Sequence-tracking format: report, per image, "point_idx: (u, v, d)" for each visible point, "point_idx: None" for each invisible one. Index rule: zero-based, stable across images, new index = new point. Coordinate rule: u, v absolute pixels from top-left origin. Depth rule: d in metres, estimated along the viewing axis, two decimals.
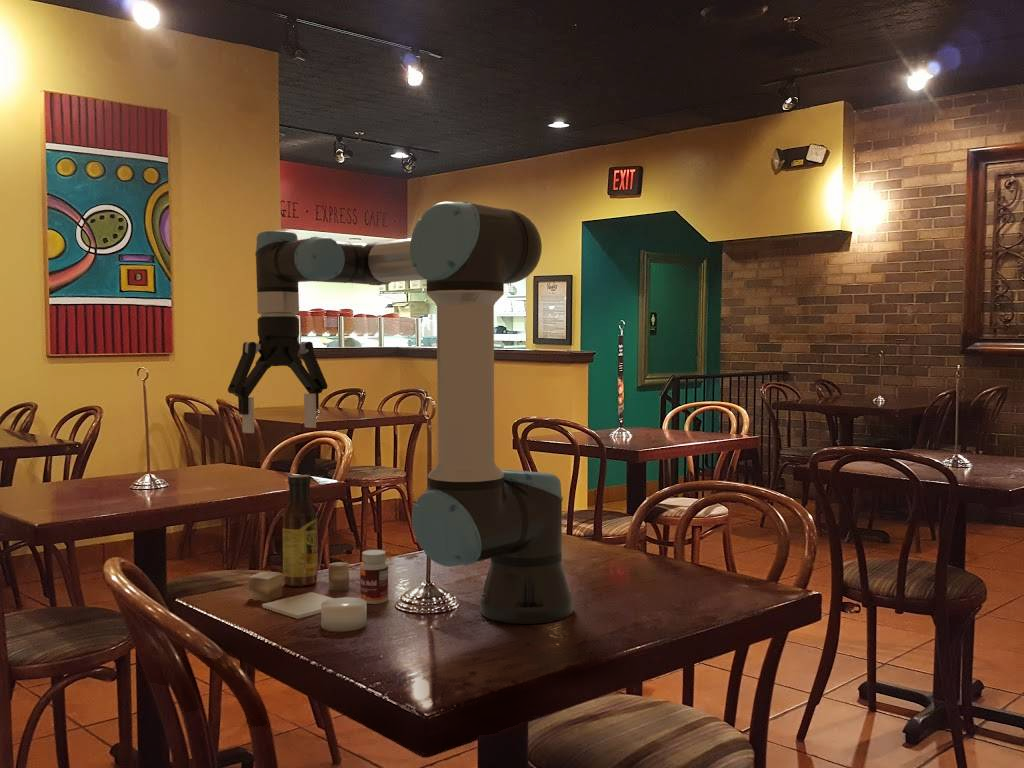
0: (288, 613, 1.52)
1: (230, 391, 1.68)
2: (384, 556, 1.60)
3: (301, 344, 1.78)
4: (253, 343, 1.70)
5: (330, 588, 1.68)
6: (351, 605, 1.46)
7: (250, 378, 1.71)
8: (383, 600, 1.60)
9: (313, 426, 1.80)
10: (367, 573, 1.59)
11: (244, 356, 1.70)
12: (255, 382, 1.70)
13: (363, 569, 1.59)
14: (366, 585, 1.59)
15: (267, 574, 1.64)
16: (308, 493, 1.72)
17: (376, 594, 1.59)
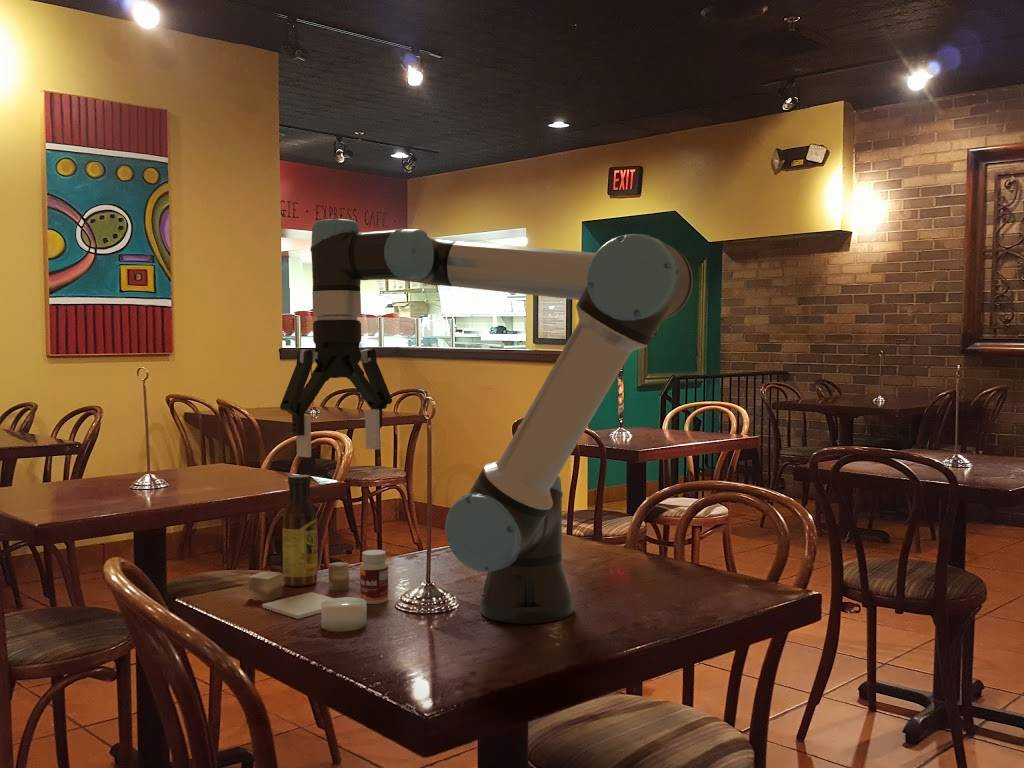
0: (288, 613, 1.52)
1: (283, 408, 1.43)
2: (384, 556, 1.60)
3: (362, 352, 1.53)
4: (309, 351, 1.44)
5: (330, 588, 1.68)
6: (351, 604, 1.47)
7: (305, 392, 1.45)
8: (383, 600, 1.60)
9: (376, 447, 1.54)
10: (367, 573, 1.59)
11: (299, 366, 1.44)
12: (312, 397, 1.45)
13: (363, 569, 1.59)
14: (366, 585, 1.59)
15: (267, 574, 1.64)
16: (308, 493, 1.72)
17: (376, 594, 1.59)
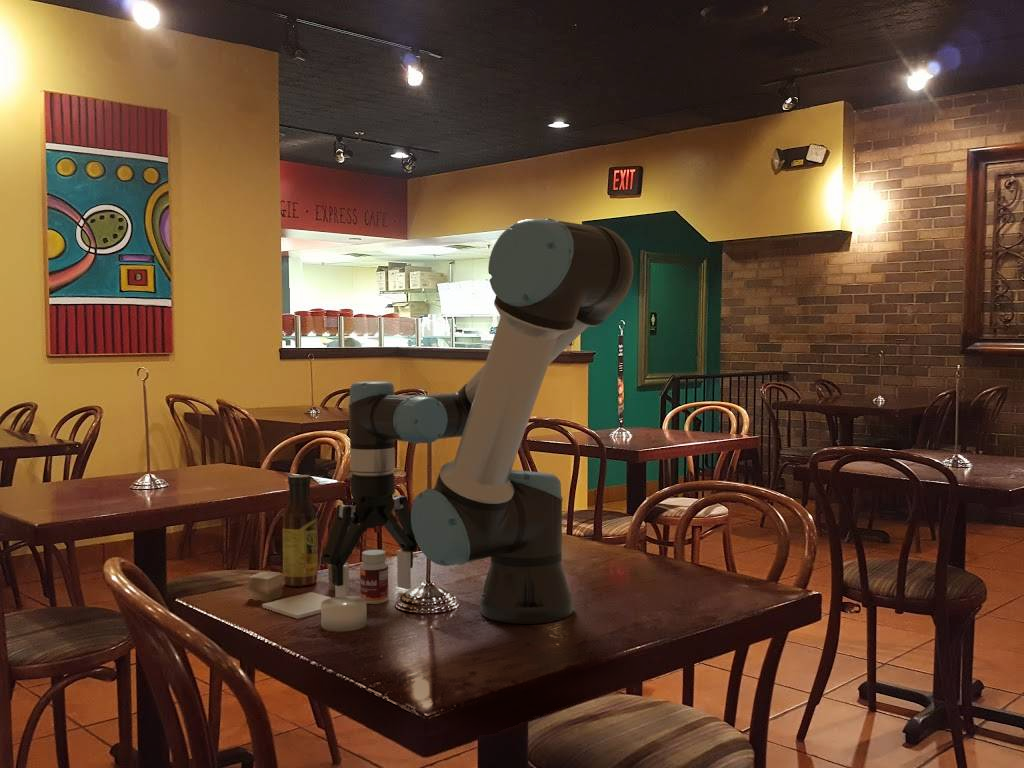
0: (288, 613, 1.52)
1: (324, 561, 1.54)
2: (384, 556, 1.60)
3: (395, 500, 1.64)
4: (348, 507, 1.55)
5: (330, 588, 1.68)
6: (352, 604, 1.47)
7: (344, 544, 1.56)
8: (383, 600, 1.60)
9: (408, 587, 1.65)
10: (367, 573, 1.59)
11: (339, 521, 1.55)
12: (350, 549, 1.56)
13: (363, 569, 1.59)
14: (366, 585, 1.59)
15: (267, 574, 1.64)
16: (308, 493, 1.72)
17: (376, 594, 1.59)
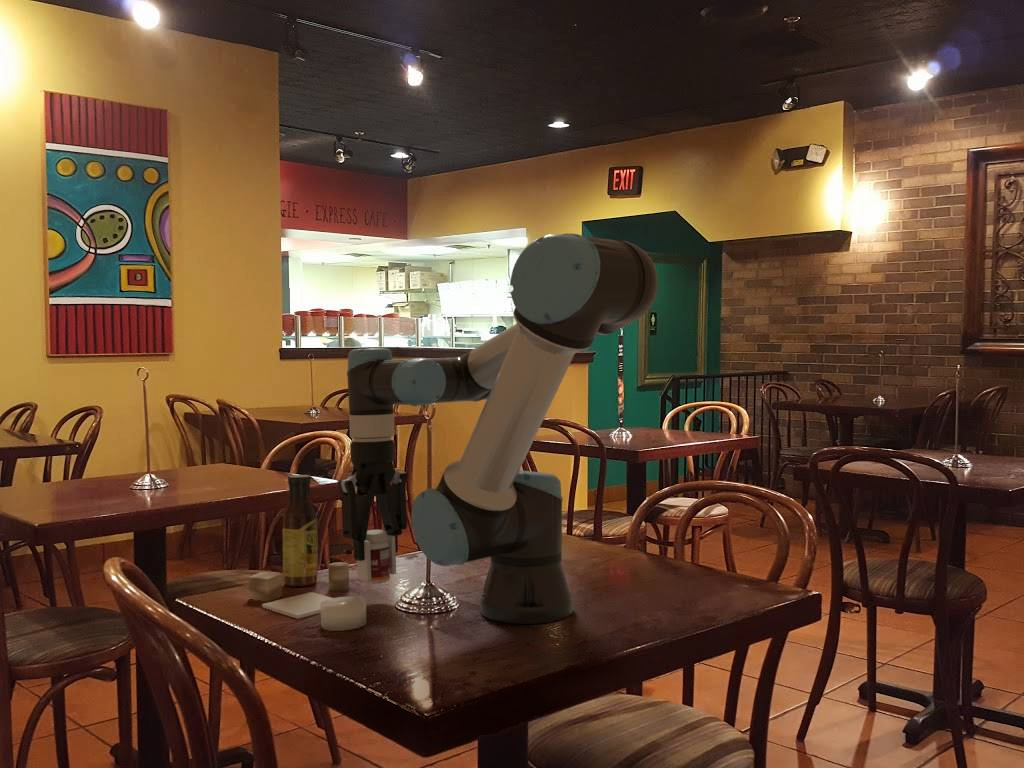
0: (288, 613, 1.52)
1: (346, 536, 1.56)
2: (385, 535, 1.60)
3: (396, 472, 1.63)
4: (349, 482, 1.55)
5: (330, 588, 1.68)
6: (352, 602, 1.47)
7: (359, 519, 1.58)
8: (385, 579, 1.59)
9: (393, 572, 1.61)
10: None
11: (345, 496, 1.56)
12: (366, 522, 1.57)
13: None
14: None
15: (267, 574, 1.64)
16: (308, 493, 1.72)
17: (377, 574, 1.58)
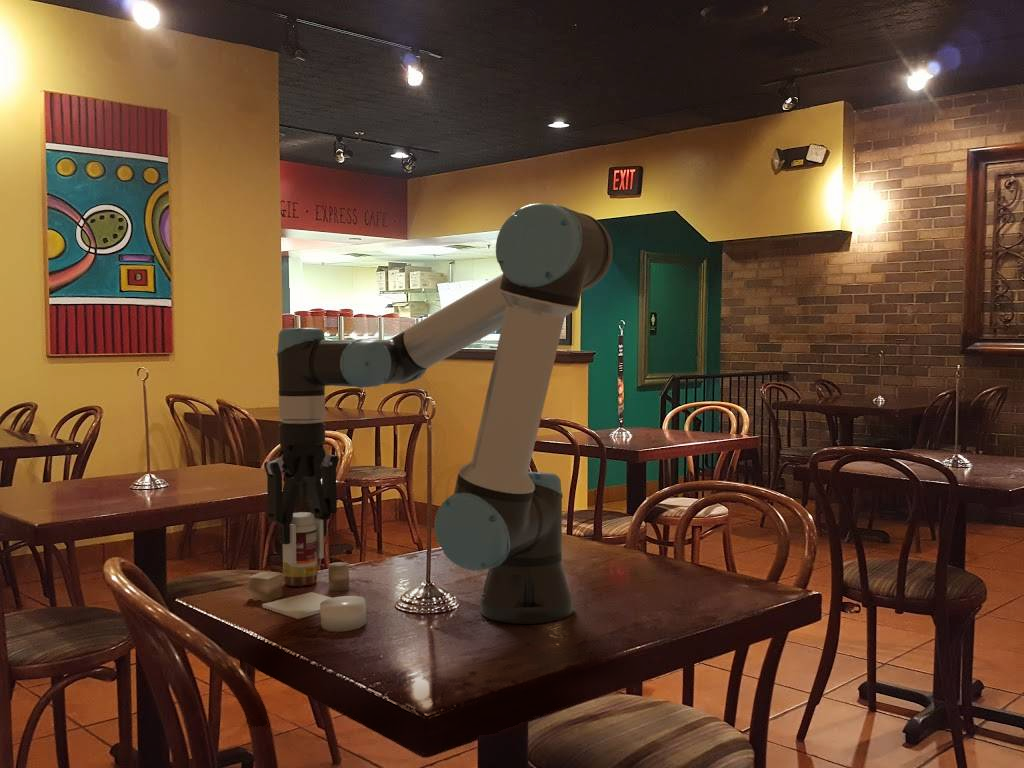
0: (288, 613, 1.52)
1: (270, 519, 1.53)
2: (312, 519, 1.57)
3: (327, 455, 1.60)
4: (275, 464, 1.51)
5: (330, 588, 1.68)
6: (353, 602, 1.47)
7: (285, 502, 1.54)
8: (310, 563, 1.56)
9: (320, 556, 1.59)
10: None
11: (271, 478, 1.52)
12: (292, 505, 1.54)
13: None
14: None
15: (267, 574, 1.64)
16: (308, 493, 1.72)
17: (302, 557, 1.55)
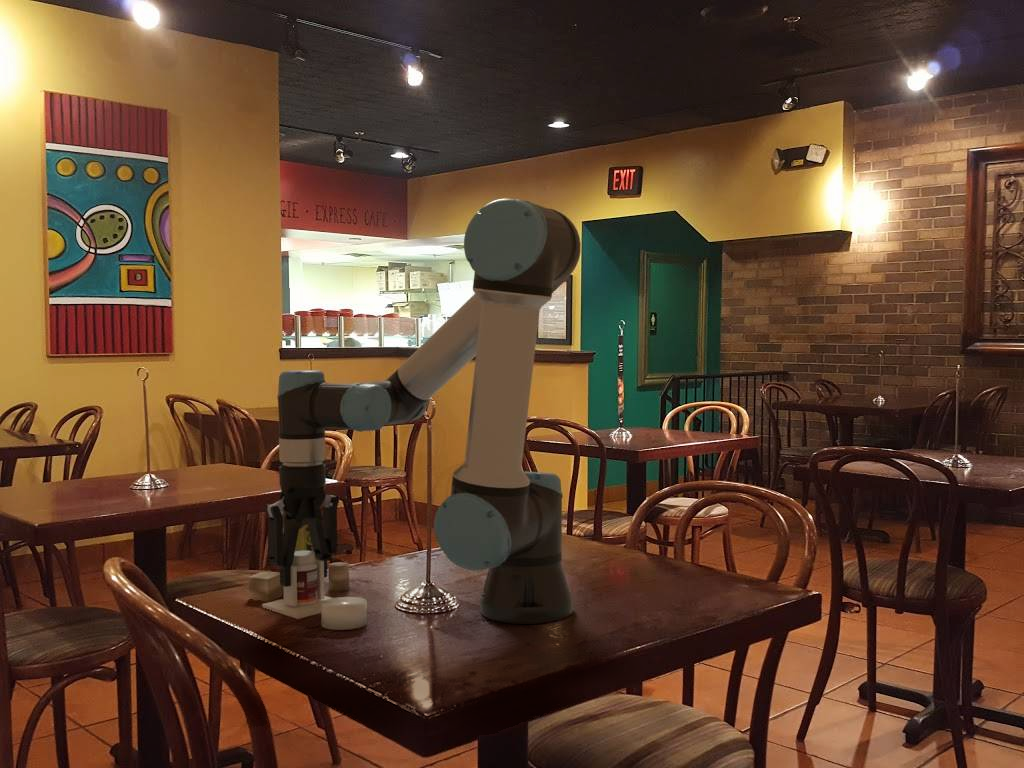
0: (288, 613, 1.52)
1: (271, 562, 1.53)
2: (313, 557, 1.57)
3: (327, 496, 1.60)
4: (275, 508, 1.52)
5: (330, 588, 1.68)
6: (354, 601, 1.48)
7: (285, 544, 1.55)
8: (311, 602, 1.57)
9: (321, 597, 1.59)
10: None
11: (271, 522, 1.53)
12: (293, 547, 1.54)
13: None
14: None
15: (267, 574, 1.64)
16: None
17: (303, 596, 1.56)
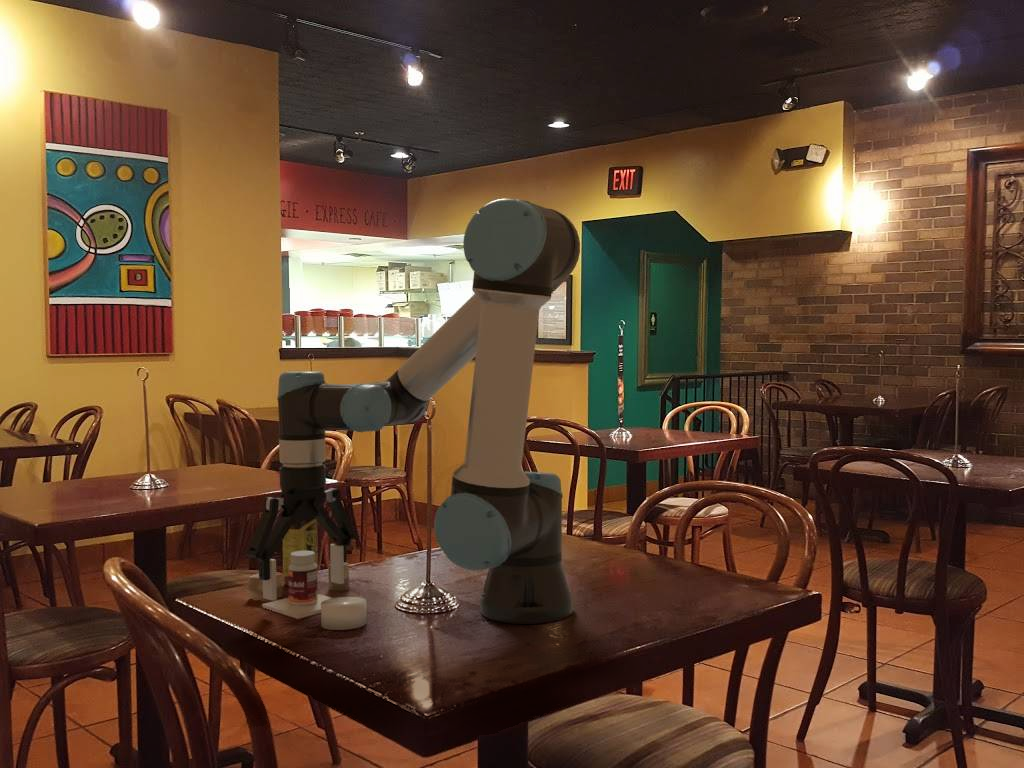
0: (288, 613, 1.52)
1: (250, 555, 1.50)
2: (313, 557, 1.57)
3: (327, 492, 1.60)
4: (275, 500, 1.51)
5: (330, 588, 1.68)
6: (354, 600, 1.48)
7: (271, 538, 1.52)
8: (311, 602, 1.57)
9: (340, 582, 1.62)
10: (295, 574, 1.56)
11: (265, 514, 1.52)
12: (277, 542, 1.52)
13: (290, 570, 1.56)
14: (293, 587, 1.56)
15: None
16: None
17: (303, 596, 1.56)
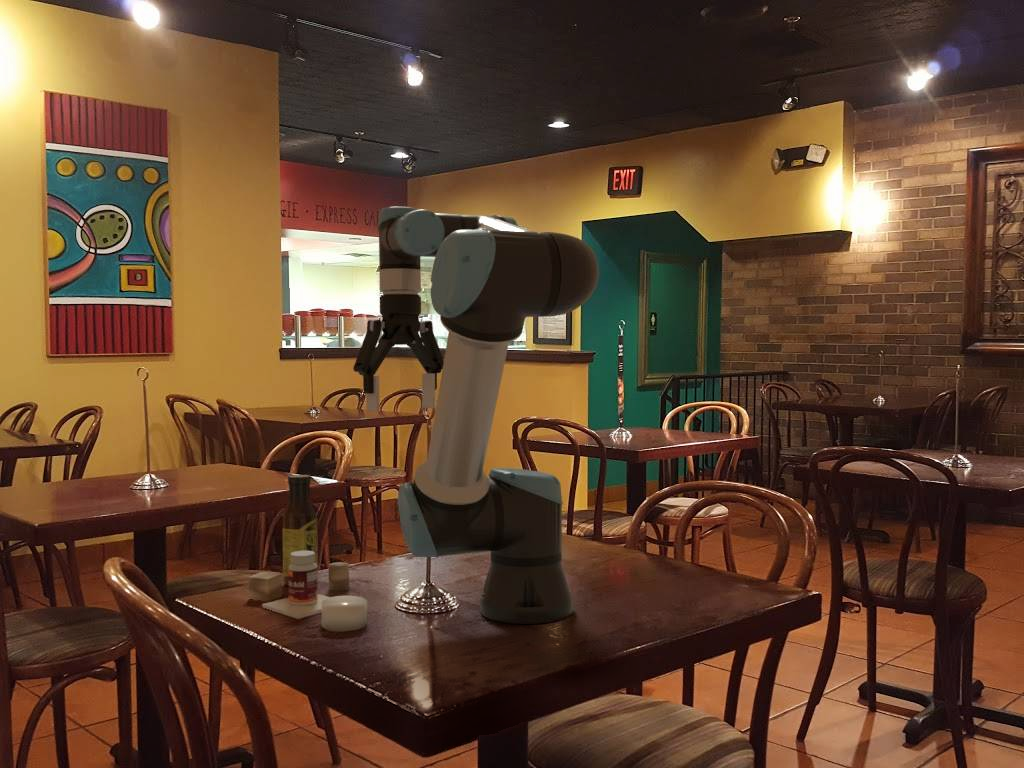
0: (288, 613, 1.52)
1: (356, 369, 1.65)
2: (313, 557, 1.57)
3: (421, 323, 1.75)
4: (378, 321, 1.67)
5: (330, 588, 1.68)
6: (353, 600, 1.49)
7: (374, 356, 1.68)
8: (311, 602, 1.57)
9: (432, 406, 1.77)
10: (295, 574, 1.56)
11: (369, 334, 1.67)
12: (380, 360, 1.67)
13: (290, 570, 1.56)
14: (293, 587, 1.56)
15: (267, 574, 1.64)
16: (308, 493, 1.72)
17: (303, 596, 1.56)
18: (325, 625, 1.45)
